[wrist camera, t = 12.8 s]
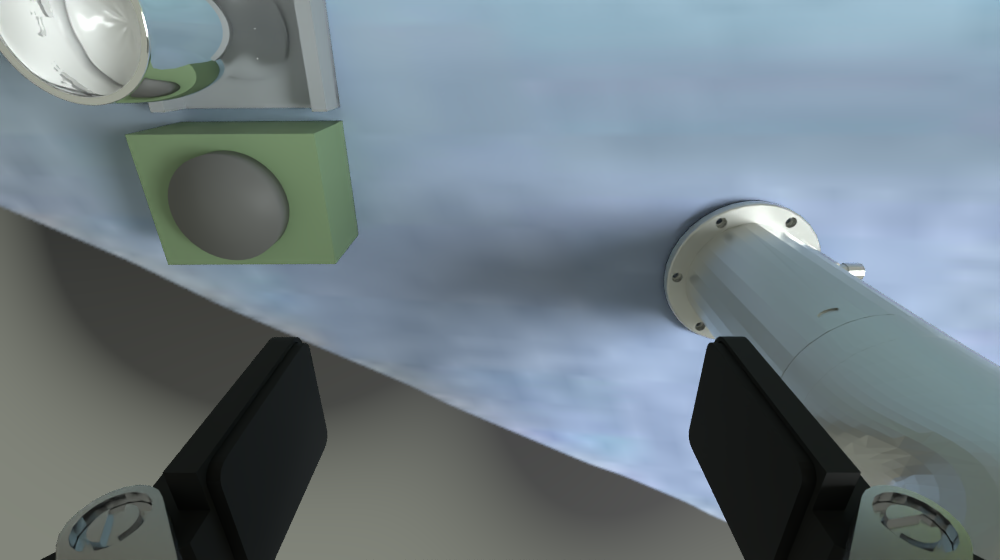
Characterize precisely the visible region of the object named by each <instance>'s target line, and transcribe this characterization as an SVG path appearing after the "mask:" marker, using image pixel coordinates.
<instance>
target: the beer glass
mask: <svg viewBox="0 0 1000 560" xmlns="http://www.w3.org/2000/svg"><path fill="white" fill-rule="evenodd" d="M287 48H288V33H287V28H286V24H285V21H284V18H283V16H282V14H281V12H280V10H279V8H278V7H277V5H276V4H275V3H274V1H273V0H0V51H1V52H2V54H3V55H4V56H5V57H6V59H7V60H8V61H9V62H10V63H11V64H12V65H13V66H14V67H15V68H16V69H17V70H18V71H19V72H20V73H21V74H22V75H23V76H25V77H26V78H27V79H28V80H30V81H31V82H32V83H34V84H35V85H36V86H38V87H39V88H41V89H43V90H44V91H46V92H48V93H50V94H52V95H54V96H56V97H58V98H61V99H63V100H66V101H69V102H73V103H77V104H83V105H106V104H131V103H149V102H159V101H167V100H172V99H177V98H181V97H186V96H189V95H192V94H194V93H197V92H199V91H202V90H204V89H207V88H209V87H211V86H213V85H214V84H216V83H218V82H220V81H222V80H223V79H225V78H227V77H229V76H232V77H236V78H240V79H245V80H257V79H262V78H265V77H267V76H269V75H271V74H273V73H274V72H275V71H276V70H277V69H278V68H279V67H280V66H281V64H282V63H283V61H284V59H285V56H286V53H287Z"/></svg>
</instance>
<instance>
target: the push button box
mask: <svg viewBox="0 0 1000 560" xmlns="http://www.w3.org/2000/svg"><path fill="white" fill-rule="evenodd" d="M273 1H274V3H275V4H276V5H277V7H278V8H279V10H280V12H281V14H282V16H283V18H284V21H285V24H286V28H287V33H288V48H287V53H286V56H285V59H284V61H283V63H282V64H281V66H280V67H279V68H278V69H277V70H276V71H275V72H274V73H273V74H271V75H269V76H267V77H265V78H262V79H257V80H245V79H240V78H236V77H232V76H229V77H227V78H225V79H223V80H222V81H220V82H218V83H216V84H214V85H213V86H211V87H209V88H207V89H204V90H202V91H199V92H197V93H194V94H192V95H189V96H186V97H181V98H177V99H172V100H167V101H159V102H149V103H148V104H149V108H150V111H151V113H159V112H171V111H176V110H181V109H194V108H312V112H327V111H330V110H333V109H335V108H338V107H340V102H339V95H338V88H337V81H336V74H335V67H334V60H333V53H332V46H331V39H330V32H329V25H328V18H327V10H326V3H325V0H273ZM125 136H126V139H127V142H128V145H129V148H130V151H131V154H132V157H133V160H134V163H135V166H136V169H137V172H138V175H139V178H140V181H141V184H142V187H143V190H144V193H145V196H146V199H147V202H148V205H149V208H150V211H151V214H152V217H153V220H154V223H155V226H156V229H157V232H158V235H159V238H160V241H161V244H162V247H163V250H164V253H165V256H166V259H167V262H168V265H201V264H336V263H337V262H338V260H339V259H340V258H341V257H342V255H343V254H344V253H345V251H346V250H347V249H348V247H349V246H350V245H351V244H352V242H353V241H354V240H355V238H356V237H357V236H358V229H357V222H356V215H355V208H354V200H353V193H352V186H351V179H350V172H349V165H348V158H347V151H346V144H345V137H344V130H343V123H342V121H246V122H179V123H175V124H170V125H166V126H161V127H157V128H153V129H148V130H144V131H139V132H135V133H131V134H126V135H125Z"/></svg>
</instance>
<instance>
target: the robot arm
mask: <svg viewBox="0 0 1000 560" xmlns="http://www.w3.org/2000/svg"><path fill="white" fill-rule="evenodd" d="M719 218H720V220H719V221H718V222H717V220H718V219H719ZM675 273H676V274H675ZM674 274H675V275H674ZM864 276H865V268H864V266H863V265H862V264H860V263H842V264H839V263H837V262H836V261H834V260H833V259H831V258H829V257H828V256H826V255H825V254H823V253H822V252H821V247H820V244H819V241H818V238H817V235H816V233H815V232H814V230H813V229H812V227H811V225H810V224H809V223H808V222H807V221H806V220H805V219H804V218H802V217H801V216H800V215H799V214H797V213H795V212H794V211H792V210H790V209H788V208H786V207H783V206H781V205H779V204H776V203H770V202H765V201H746V202H740V203H735V204H731V205H728V206H725V207H722V208H720V209H717V210H715V211H713V212H712V213H710V214H708V215H706V216H704V217H703V218H701V219H700V220H699V221H698V222H696V223H695V224H694V225H693V226H691V227H690V228H689V229H688V230H687V231H686V233H685V234H684V235H683V236H682V237H681V238H680V239H679V241H678V242H677V244H676V246H675V247H674V249H673V250H672V252H671V255H670V257H669V259H668V262H667V265H666V269H665V274H664V291H665V295H666V299H667V302H668V304H669V306H670V308H671V310H672V312H673V313H674V314H675V316H676V317H677V319H678V320H679V321H680V322H681V323H682V324H683V325H684V326H685V327H686V328H688V329H689V330H691V331H692V332H694V333H696V334H698V335H701V336H704V337H706V338H710V339H716V340H715V342H714V343H709V344H708V346H707V349H706V354H705V359H704V363H703V368H702V373H701V377H700V382H699V387H698V391H697V396H696V401H695V405H694V410H693V415H692V419H691V424H690V429H689V441H690V445H691V447H692V450H693V452H694V454H695V456H696V458H697V460H698V462H699V464H700V466H701V468H702V471H703V473H704V475H705V477H706V479H707V481H708V483H709V485H710V487H711V489H712V492H713V494H714V496H715V498H716V500H717V502H718V504H719V506H720V508H721V511H722V513H723V515H724V517H725V519H726V521H727V523H728V525H729V527H730V529H731V531H732V534H733V536H734V538H735V540H736V542H737V544H738V546H739V548H740V550H741V552H742V555H743V556H744V559H745V560H1000V366H998V365H997V364H995V363H993V362H992V361H990V360H988V359H987V358H985V357H983V356H982V355H980V354H978V353H976V352H975V351H973V350H971V349H970V348H968V347H966V346H965V345H963V344H962V343H960V342H958V341H957V340H955V339H954V338H952V337H951V336H949V335H947V334H946V333H944V332H943V331H941V330H940V329H938V328H936V327H935V326H933V325H932V324H930V323H928V322H926V321H925V320H923V319H922V318H920V317H919V316H917V315H915V314H914V313H912V312H911V311H909V310H908V309H906V308H904V307H903V306H901V305H900V304H898V303H897V302H895V301H894V300H892V299H890V298H889V297H887V296H886V295H884V294H883V293H881V292H879V291H878V290H876V289H875V288H873V287H872V286H870V285H868V284H867V283H865V282H864V281H862V280H861V279H863V277H864ZM326 442H327V429H326V424H325V419H324V414H323V409H322V405H321V400H320V395H319V391H318V386H317V381H316V377H315V372H314V367H313V363H312V357H311V353H310V348H309V346H308V344H306V343H302V341H301V340H300V338H298V337H274V338H272V339H270V340H269V341H268V343H267V344H266V345H265V346H264V348H263V349H262V350H261V351H260V352H259V354H258V355H257V356H256V357H255V359H254V360H253V361H252V362H251V364H250V365H249V366H248V367H247V369H246V370H245V371H244V372H243V374H242V375H241V376H240V377H239V379H238V380H237V381H236V382H235V384H234V385H233V386H232V387H231V389H230V390H229V391H228V392H227V394H226V395H225V396H224V397H223V398H222V400H221V401H220V402H219V403H218V405H217V406H216V407H215V408H214V410H213V411H212V412H211V414H210V415H209V416H208V417H207V418H206V419H205V421H204V422H203V423H202V425H201V426H200V427H199V428H198V429H197V431H196V432H195V433H194V434H193V436H192V437H191V438H190V439H189V441H188V442H187V443H186V444H185V446H184V447H183V448H182V449H181V451H180V452H179V453H178V454H177V455H176V457H175V458H174V459H173V460H172V462H171V463H170V464H169V465H168V467H167V468H166V469H165V470H164V472H163V474H162V476H161V477H160V478H159V479H158V481H157V482H156V483H155V484H154V486H153V487H151V486H146V485H135V486H129V487H123V488H121V489H118V490H115V491H112V492H109V493H107V494H105V495H103V496H101V497H99V498H97V499H96V500H94V501H92V502H91V503H90V504H88V505H86V506H85V507H84V508H82V509H81V510H80V511H78V512H77V513H76V514H75V515H74V516H73V517H72V518H71V519H70V520H69V521H68V522H67V523H66V525H65V526H64V528H63V529H62V531H61V532H60V534H59V536H58V540H57V544H56V552H55V553H53V554H51V555H49V556H47V557H45V558H43V559H41V560H275V558H276V555H277V553H278V551H279V549H280V546H281V544H282V542H283V540H284V538H285V535H286V533H287V531H288V529H289V526H290V524H291V522H292V520H293V518H294V515H295V513H296V511H297V509H298V506H299V504H300V502H301V500H302V497H303V495H304V493H305V491H306V489H307V486H308V484H309V482H310V480H311V477H312V475H313V473H314V471H315V468H316V466H317V464H318V462H319V460H320V457H321V455H322V453H323V451H324V448H325V446H326Z"/></svg>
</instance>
